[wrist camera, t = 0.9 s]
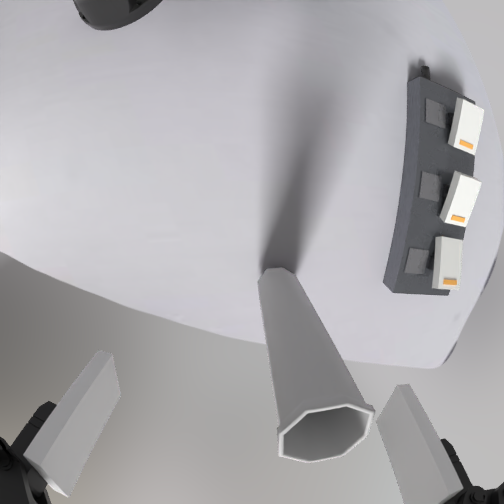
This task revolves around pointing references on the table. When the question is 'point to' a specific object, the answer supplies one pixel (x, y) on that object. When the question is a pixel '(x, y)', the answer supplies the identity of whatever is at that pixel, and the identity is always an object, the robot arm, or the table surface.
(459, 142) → the block
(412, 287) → the power strip
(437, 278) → the block
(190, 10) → the table surface
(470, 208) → the block
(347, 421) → the tube
